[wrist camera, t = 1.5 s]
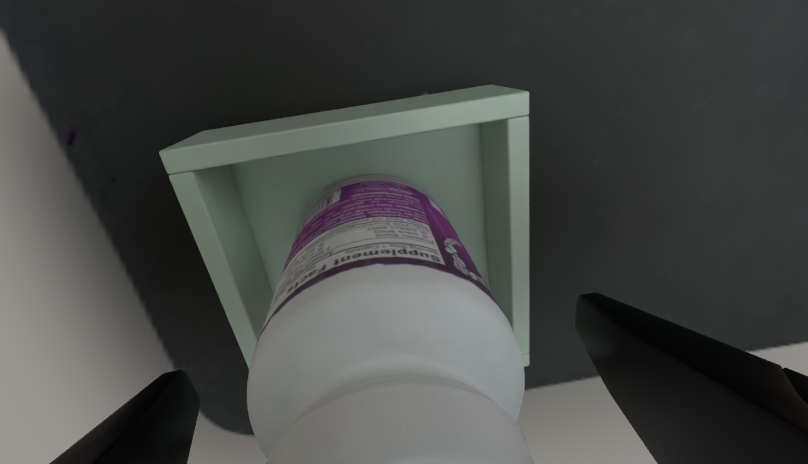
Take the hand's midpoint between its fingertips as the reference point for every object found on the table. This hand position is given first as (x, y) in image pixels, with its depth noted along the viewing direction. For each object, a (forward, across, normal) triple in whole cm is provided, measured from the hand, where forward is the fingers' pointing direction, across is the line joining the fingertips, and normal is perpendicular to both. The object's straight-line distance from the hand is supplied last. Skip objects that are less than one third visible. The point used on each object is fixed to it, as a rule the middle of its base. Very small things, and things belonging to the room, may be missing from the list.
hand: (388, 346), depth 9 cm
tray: (+6, 0, 0) cm, 6 cm away
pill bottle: (+6, 0, 0) cm, 6 cm away
